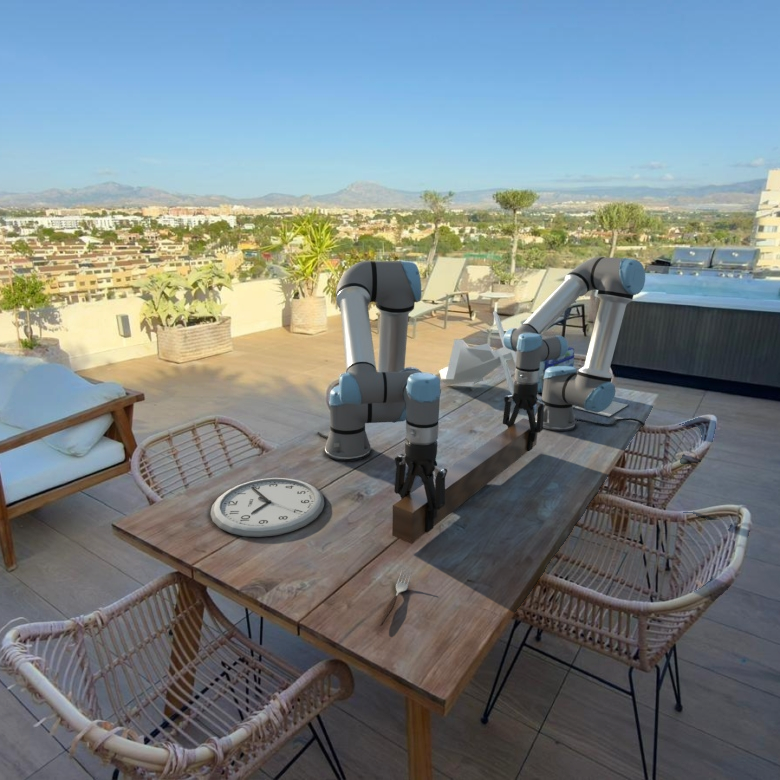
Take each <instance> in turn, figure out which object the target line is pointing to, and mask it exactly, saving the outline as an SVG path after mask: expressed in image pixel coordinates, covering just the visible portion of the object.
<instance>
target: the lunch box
mask: <svg viewBox="0 0 780 780" xmlns="http://www.w3.org/2000/svg"><path fill="white" fill-rule="evenodd" d="M574 363H575V348H573V347H571V346H570V347H569V346H568V351H567V353H566V355H565V356H563V357H561V358H558V359H553V360H548V361H543V362H540V369H539V381H538V382H537V383H538V391H537V393H540V394H542V391H543V380H544V379H543V378H544V375H545V370H546V369H547V368H549V367H555V366H570V367H574Z"/></svg>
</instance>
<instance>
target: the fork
mask: <svg viewBox="0 0 780 780" xmlns="http://www.w3.org/2000/svg"><path fill="white" fill-rule="evenodd" d="M402 573H403V575H402ZM412 573H413V571H410V574H409V572H407V573H406V571H404V572H403V570H400V574H399V577H398V579H397V582H396V584H395V590H396V593H395V595H394V596H393V597H392V599H391V600H390V601H389V603H388V605H387V607H386V609H385V611H384V615H383V617H382V619H381V622H380V624H379V626H380V627H382V626H383V624H384V623H385V621H386V619H388V617H389V615H390V614H391V612H392V611H393V609H394V607H395V605H396V602H397V600H398V596H399V594H401V593H404V592H405V591H407V590H408V588H409V585H410V581H411V578H412ZM405 574H406V576H405ZM408 575H409V577H408ZM407 580H408V581H407Z"/></svg>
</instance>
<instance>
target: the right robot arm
mask: <svg viewBox="0 0 780 780" xmlns="http://www.w3.org/2000/svg"><path fill="white" fill-rule="evenodd" d="M645 284H646V269H645V268H644V265H643V263H642V262H641V261H639V260H637V259H633V258H628V257H608V256H607V257H606V256H595V257H592V258H589V259H587V260H585V261H583V262H582V263H580V264H578V265H577V266H576V267H574V268H573V269H572V270H571V271H570V272H569V273H567V275H566V276H564V278H563V283H561V284H560V286H559V287H558V288H556V290H555V291H553V293H552V294H551V295H549V296H548V298H547V299H545V300H544V301H543V303H542V304H541V305H540V306H539V307H538V308H537V309H536V310H535V311H533V313H532V314H531V315H530V316H528V318H526V320H525V321H524V322H523V323H522V324H521V325H520V326H519V327H518V328H512V327H511V328H509V329H507V330H506V331H505V332H504V334H505V335H504V338H503V342H504V345H505V347H506V348H508V349H510V350H513V351H516V352H517V354H516V366H515V368H514V371H515V372H514V381H513V385H514V393H513V395H512V394H511V395H510V394H507V395H505V396H503V401H504V409H503V417H502V424H503V425H506V427H507V429H508V428H509V427H511V426H512V425H514V424H515V423H516V420H517V418H518V415H519V413H520V411H521V410H524V411H525V413H526V414H527V419H528V420H529V424H530V429H531V431H530V432H529V435H528V446H527V451H528V452H530V451H532V450H533V448H534V447H533V442H534V441H535V440H536V434H537V432H538V433H539V434H540V433H541V432H542V431H543V429H544V430H549V431H556V432H567V431H572V430H574V429H575V428H576V422H580V423H586V424H591V425H597V426H604V427H613V426H615V425H616V424H617V422H622V421H623V422H624V421H631V422H632V421H633V422H637V423H639V424H640V425H642V426H646V424H645V423H644V422H643V421H641V420H640V419H637V418H634V417H633V418H632V417H626V418H616V419H614V421H613V423H605V422H604V423H603V422H597V421H591V420H586V419H581V418H575V417H576V416H575V413H574V407H576V406H578V407H581V408H584V409H585V410H587V411H586V412H588V411H593V412H601V411H603V410H605V409H606V408H607V407H608V406H609V405H610V404H611V402H612V401H614V398H615V396H616V392H617V391H616V386H615V384H614V383H613V382H612V379H613V375H612V374H611V373H610V368H611V365H612V361H613V358H614V357H613V356H614V352H615V350H616V345H617V342H618V338H619V333H620V330H621V327H622V323H623V319H624V315H625V311H626V307H627V305H628V304H629V303H631V302H633V300H634V296H636V295H639V294H640V293H641V292H642V290H643V289H644V288H645ZM591 291H597V297H598V299H599V300H600V301H599V305H598V309H597V312H596V317H595V320H594V325H593V328H592V333H591V337H590V341H589V344H588V349H587V353H586V356H585V360H584V363H583V366H582V367H580V368H579V369H578V368H577V367H575V366H573V367H570V366H555V367H549V368H547V369H546V370H545V375H544V378H543V379H544V380H543V391H542V393H541V401H540V400H539V399H538V392H537V391H538V383H537V382H538V381H539V369H540V362H543V361H548V360H553V359H558V358H561V357H563V356H565V355H566V353H567V351H568V347H569V342H568V340H567V339H566V338H565V337H564V336H562V335H551V336H550V335H544V334H545V332H546V331H548V329H550V327H551V326H552V325H553V324H554V323H555V322H556V321H557V320H558V319H559V318H560V317H561V316H562V315H563V314H564V313H565V312H566V311H567V310H568V309H569V308H570V307H571V306H572V305H573V304H574V303H575V302H576V300H577V299H579V298H580V297H584V296H586V294H587V293H588V292H591ZM512 402H513V403H514V407H513V411H512V413H511V410H512ZM535 405H536V410H537V411H536V413H535V407H534V406H535ZM573 406H574V407H573ZM536 422H537V425H536ZM537 435H538V434H537Z"/></svg>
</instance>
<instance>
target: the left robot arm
mask: <svg viewBox="0 0 780 780" xmlns="http://www.w3.org/2000/svg"><path fill="white" fill-rule="evenodd" d="M421 300H422V280H421V274H420V271H419V267H418V265H417V264H416V263H415V262H413V261H404V260H362V261H359V262H356V263H354V264H353V265H351V266H350V267H348V268H347V269H346V270H345V271H344V273H343V274H342V275H341V277H340V278H339V281H338V283H337V285H336V289H335V303H336V305H337V307H338V308H339V309H340V318H341V328H342V329H341V330H342V341H343V352H344V354H343V355H344V363H345V364H344V365H345V366H344V367H345V372H342V373H340V374H339V377H338V385H337V386H334V387H333V388H332V389H331V390H330V392H329V402H328V405H329V434H328V435H325V434H323V433H321V432H319V431H317V433H316V434H317V435H318V436H320V437H322V438H324V439H327V440H326V443H325V447H324V453H325V455H326V456H327V457H328V458H329V459H332V460H335V461H340V462H353V461H359V460H364V459H366V458H367V457H368V456H369V455H370V454H371V443H370V440H369V438H368V435H367V432H366V424H375V423H376V424H377V423H378V424H379V423H399V422H405V438H406V439H405V440H404V442H405V443H404V454H403V453H401V454H399V455H396V457H394V463H395V476H394V477H395V479H394V490H393V491H394V493H395V494H396V495H399V496H400V500H401V499H403V498H404V497H406V496H407V495H409V494H410V493H412V489H413V485H414V483H415V480H416V477H417V476H418V477H419V478H420V481H421V483H423V485H424V488H425V492H426V497H427V501H428V507H427V508H426V516H425V532H426V533H425V534H427V533H429V532H430V531H432V530H433V529H434V527H433V525H434V520H435V519H436V517H437V510H439V509H440V508H442V507H443V506H444V505H445V477H446V474H447V469H448V468H441V467H440V466H438V462H437V455H438V438H439V419H440V416H439V415H440V401H441V393H442V389H441V378H440V377H439V376H438V375H436V374H434V373H430V372H423V371H421V370H420V368H417V367H414V366H408V367H405V366H406V354H407V341H408V330H409V329H408V326H409V316H410V315H409V314H410V313H411V312H413V311H414V310H415V305H416V304H415V303H420V302H421ZM370 303H375V308H376V309H377V310H378V311H379V312H380V313H379V314H380V315H379V332H378V333H379V335H378V357H377V363H376V357H375V350H374V349H375V348H374V341H373V335H372V334H373V333H372V327H371V319H370V312H369V306H370ZM376 364H377V366H376ZM407 467H408V469H407ZM406 469H407V471H406ZM434 477H436V480H435V486H434V481H433V478H434Z"/></svg>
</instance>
